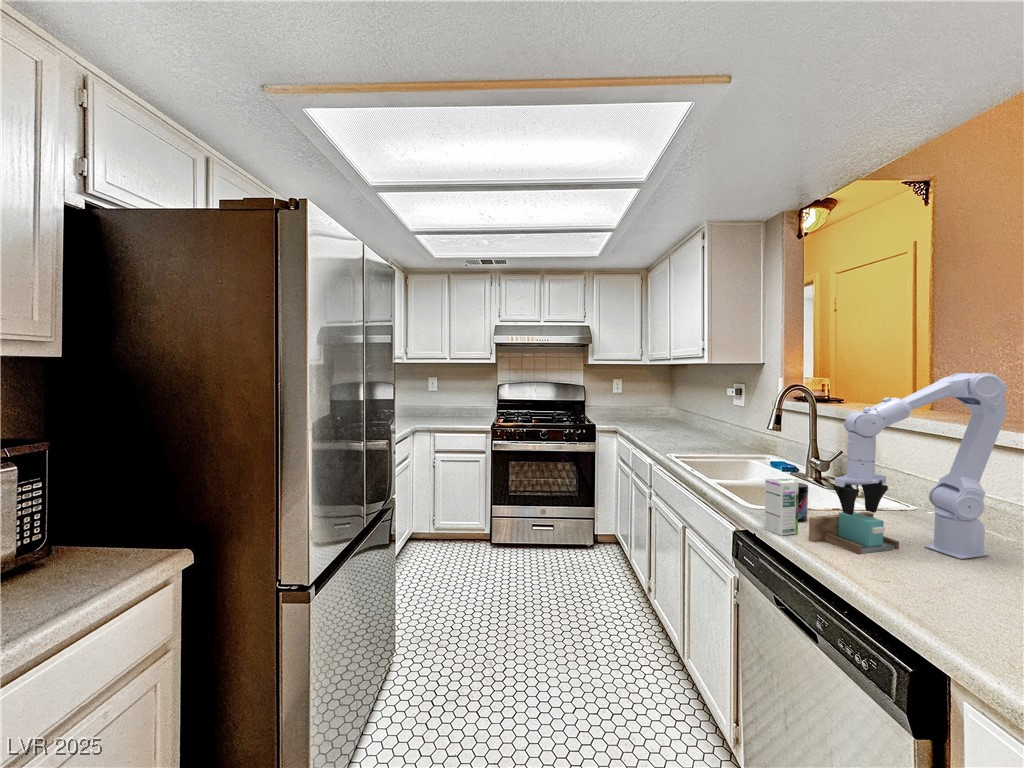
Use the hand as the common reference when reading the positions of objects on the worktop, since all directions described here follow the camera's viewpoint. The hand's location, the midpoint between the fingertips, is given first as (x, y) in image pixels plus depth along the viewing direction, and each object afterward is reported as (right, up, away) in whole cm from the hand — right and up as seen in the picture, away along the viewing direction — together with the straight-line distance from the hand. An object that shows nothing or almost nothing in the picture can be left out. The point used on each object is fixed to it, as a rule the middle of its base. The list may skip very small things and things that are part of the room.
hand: (859, 512), depth 118 cm
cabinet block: (0, -7, 0) cm, 7 cm away
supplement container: (-4, -8, +20) cm, 22 cm away
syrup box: (-15, -8, +9) cm, 19 cm away
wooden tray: (0, -8, 0) cm, 8 cm away
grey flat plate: (0, -8, 0) cm, 8 cm away
